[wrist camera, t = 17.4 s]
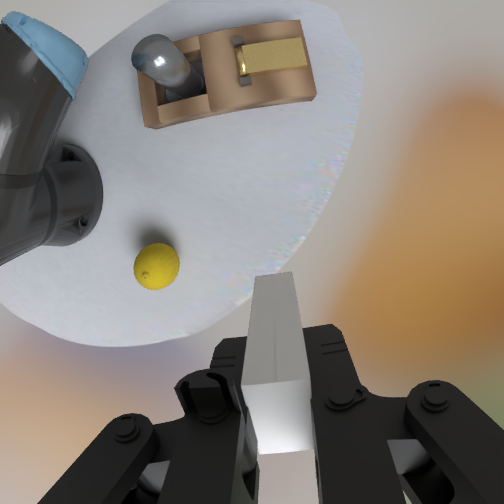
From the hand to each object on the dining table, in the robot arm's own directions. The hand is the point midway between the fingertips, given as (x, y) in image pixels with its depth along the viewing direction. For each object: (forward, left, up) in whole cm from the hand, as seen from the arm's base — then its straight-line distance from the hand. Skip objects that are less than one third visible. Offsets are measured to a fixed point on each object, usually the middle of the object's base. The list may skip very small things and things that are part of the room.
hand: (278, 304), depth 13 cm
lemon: (-15, -4, -27) cm, 31 cm away
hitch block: (-3, +18, -26) cm, 32 cm away
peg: (-8, +18, -26) cm, 33 cm away
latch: (+3, +18, -22) cm, 29 cm away
